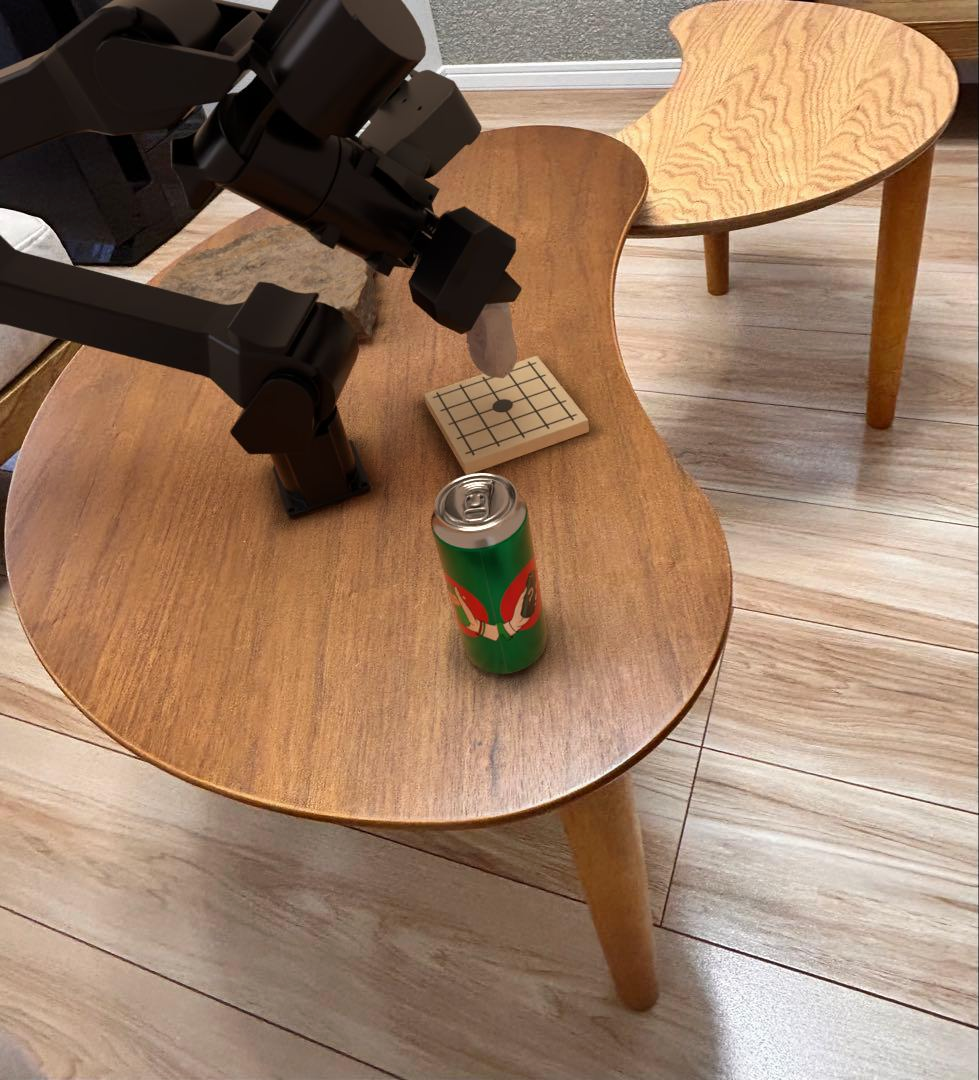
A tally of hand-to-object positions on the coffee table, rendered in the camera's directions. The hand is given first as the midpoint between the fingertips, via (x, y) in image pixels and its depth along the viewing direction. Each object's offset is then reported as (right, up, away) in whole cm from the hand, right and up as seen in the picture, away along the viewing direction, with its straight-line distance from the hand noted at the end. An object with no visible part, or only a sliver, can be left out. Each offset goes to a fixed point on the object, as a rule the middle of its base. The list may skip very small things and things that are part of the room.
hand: (499, 281), depth 61 cm
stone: (-21, +6, +27) cm, 35 cm away
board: (0, -9, +8) cm, 11 cm away
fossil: (0, -6, +5) cm, 7 cm away
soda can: (0, -25, -8) cm, 26 cm away
